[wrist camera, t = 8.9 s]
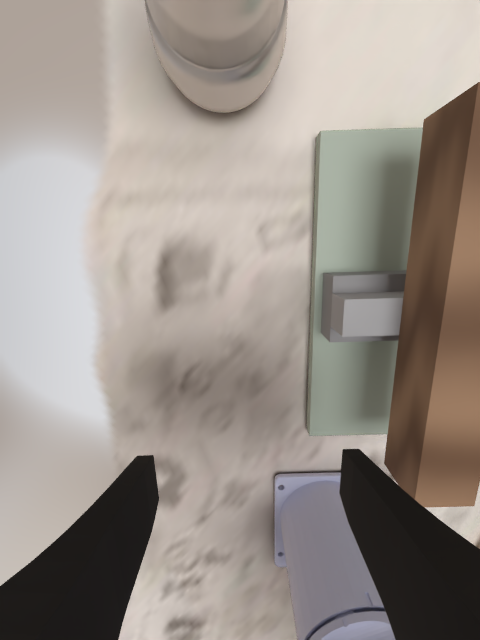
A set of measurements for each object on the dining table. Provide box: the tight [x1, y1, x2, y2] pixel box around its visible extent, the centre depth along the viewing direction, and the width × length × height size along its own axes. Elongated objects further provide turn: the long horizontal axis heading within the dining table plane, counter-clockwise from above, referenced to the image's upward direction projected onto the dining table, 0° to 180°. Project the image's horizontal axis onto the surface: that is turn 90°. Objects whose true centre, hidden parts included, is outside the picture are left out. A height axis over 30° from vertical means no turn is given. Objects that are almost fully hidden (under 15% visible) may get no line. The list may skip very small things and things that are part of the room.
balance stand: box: [307, 128, 423, 436], centre depth 17 cm, size 20×10×5 cm, turn 2°
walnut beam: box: [384, 82, 480, 507], centre depth 13 cm, size 18×3×3 cm, turn 2°
